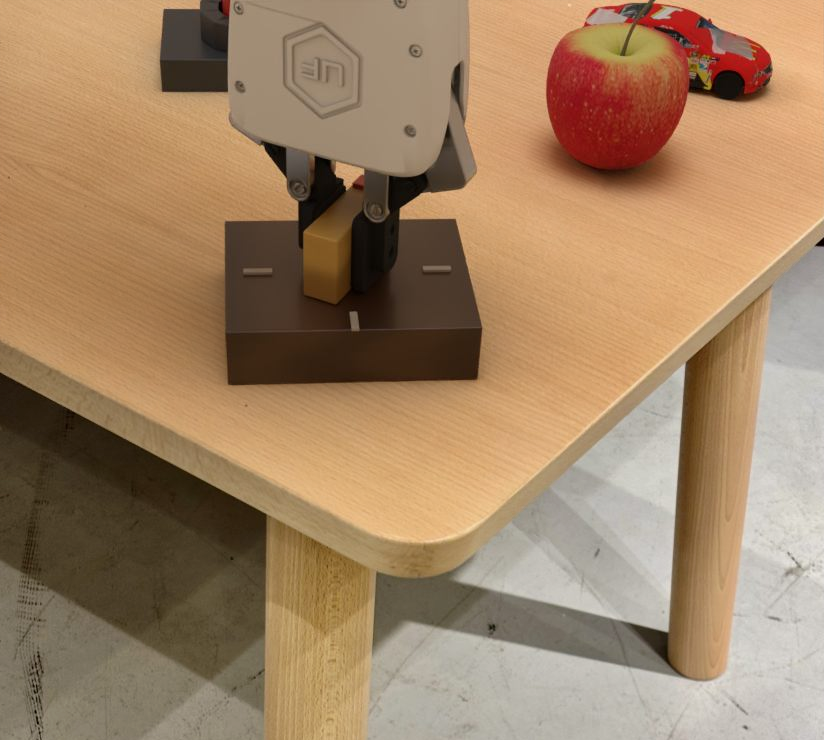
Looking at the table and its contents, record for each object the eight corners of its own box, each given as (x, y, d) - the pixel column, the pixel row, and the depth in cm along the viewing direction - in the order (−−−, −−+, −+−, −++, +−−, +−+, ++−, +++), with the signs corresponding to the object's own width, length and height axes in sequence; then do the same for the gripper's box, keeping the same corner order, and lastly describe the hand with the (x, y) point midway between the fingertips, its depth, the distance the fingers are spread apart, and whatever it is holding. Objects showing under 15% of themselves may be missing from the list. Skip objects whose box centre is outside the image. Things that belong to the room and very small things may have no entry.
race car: (774, 77, 94) (788, 19, 92) (760, 109, 90) (774, 50, 88) (588, 38, 97) (596, -18, 95) (567, 68, 94) (575, 10, 91)
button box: (162, 92, 88) (157, 31, 85) (165, 40, 94) (161, -19, 91) (350, 92, 89) (351, 32, 87) (342, 40, 95) (343, -18, 92)
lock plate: (227, 386, 65) (225, 330, 63) (226, 269, 73) (224, 216, 71) (478, 380, 67) (483, 326, 65) (451, 266, 74) (455, 214, 72)
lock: (336, 305, 66) (337, 236, 63) (302, 295, 66) (302, 226, 64) (390, 247, 70) (393, 180, 67) (358, 238, 70) (360, 171, 68)
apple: (701, 179, 83) (735, 16, 76) (576, 201, 80) (600, 34, 73) (633, 119, 88) (659, -39, 82) (514, 137, 86) (531, -24, 79)
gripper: (135, -132, 55) (168, 265, 68) (502, -53, 51) (465, 356, 63) (231, -179, 60) (245, 198, 73) (572, -111, 56) (525, 278, 68)
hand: (347, 269), depth 68 cm, fingers closed on lock, 2 cm apart
